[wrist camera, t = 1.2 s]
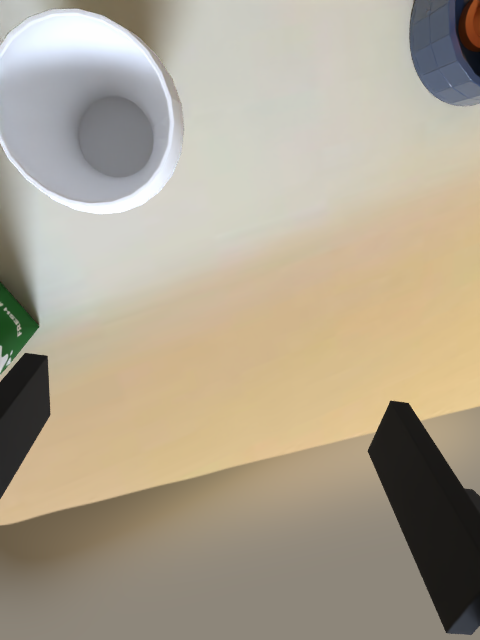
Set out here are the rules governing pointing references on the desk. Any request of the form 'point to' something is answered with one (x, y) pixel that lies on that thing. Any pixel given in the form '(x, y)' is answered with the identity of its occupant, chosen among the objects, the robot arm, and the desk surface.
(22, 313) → the milk carton
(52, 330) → the desk surface
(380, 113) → the desk surface
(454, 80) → the bowl
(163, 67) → the cup
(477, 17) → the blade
